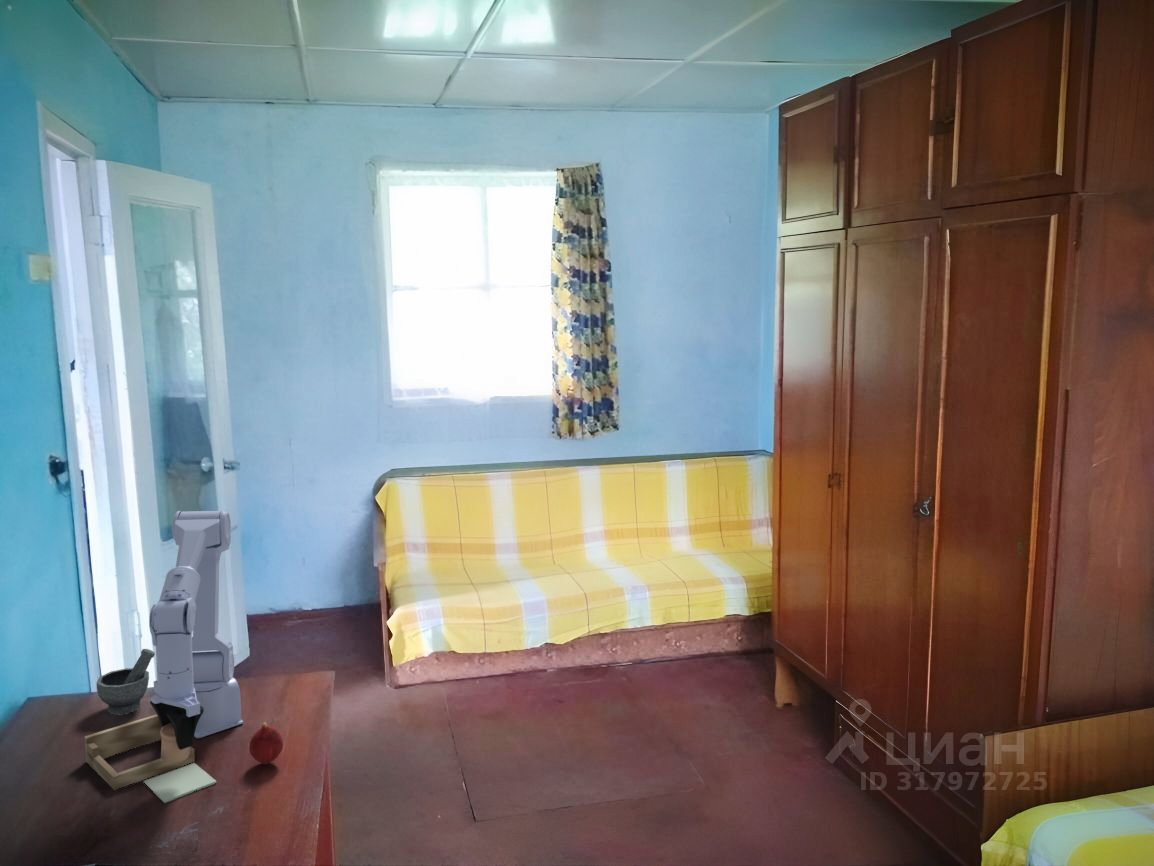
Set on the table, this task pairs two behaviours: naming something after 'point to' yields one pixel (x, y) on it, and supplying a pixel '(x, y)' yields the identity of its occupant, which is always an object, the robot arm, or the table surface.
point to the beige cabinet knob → (171, 746)
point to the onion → (266, 744)
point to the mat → (179, 782)
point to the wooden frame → (123, 740)
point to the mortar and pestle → (125, 686)
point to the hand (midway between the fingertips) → (178, 741)
